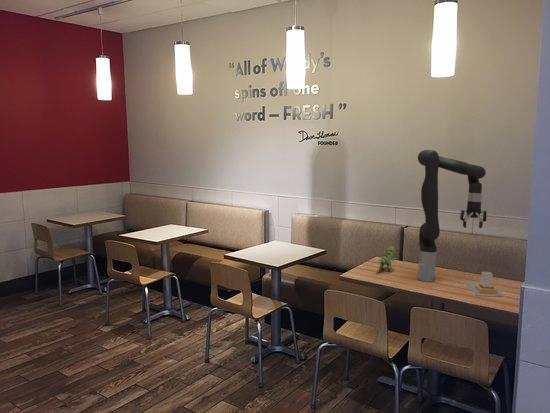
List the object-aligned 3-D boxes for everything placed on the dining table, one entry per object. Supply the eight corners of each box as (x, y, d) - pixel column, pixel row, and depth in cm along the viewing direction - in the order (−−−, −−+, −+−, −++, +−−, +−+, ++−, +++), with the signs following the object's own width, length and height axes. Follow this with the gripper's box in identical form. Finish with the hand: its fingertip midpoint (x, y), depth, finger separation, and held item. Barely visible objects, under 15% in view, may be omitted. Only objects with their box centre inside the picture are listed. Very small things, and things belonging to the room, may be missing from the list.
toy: (395, 267, 314) (396, 244, 311) (398, 276, 293) (399, 252, 291) (376, 266, 315) (377, 243, 313) (378, 275, 294) (379, 251, 292)
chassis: (475, 295, 259) (475, 289, 259) (464, 283, 281) (464, 277, 280) (503, 297, 258) (503, 290, 257) (489, 284, 279) (490, 278, 279)
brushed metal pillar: (482, 292, 262) (483, 273, 261) (480, 289, 267) (481, 271, 265) (491, 292, 262) (492, 274, 260) (488, 290, 266) (490, 272, 265)
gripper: (463, 200, 284) (461, 228, 286) (489, 201, 282) (487, 229, 284) (460, 199, 291) (458, 226, 293) (485, 200, 289) (483, 227, 292)
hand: (472, 227), depth 289 cm, fingers open, 8 cm apart
